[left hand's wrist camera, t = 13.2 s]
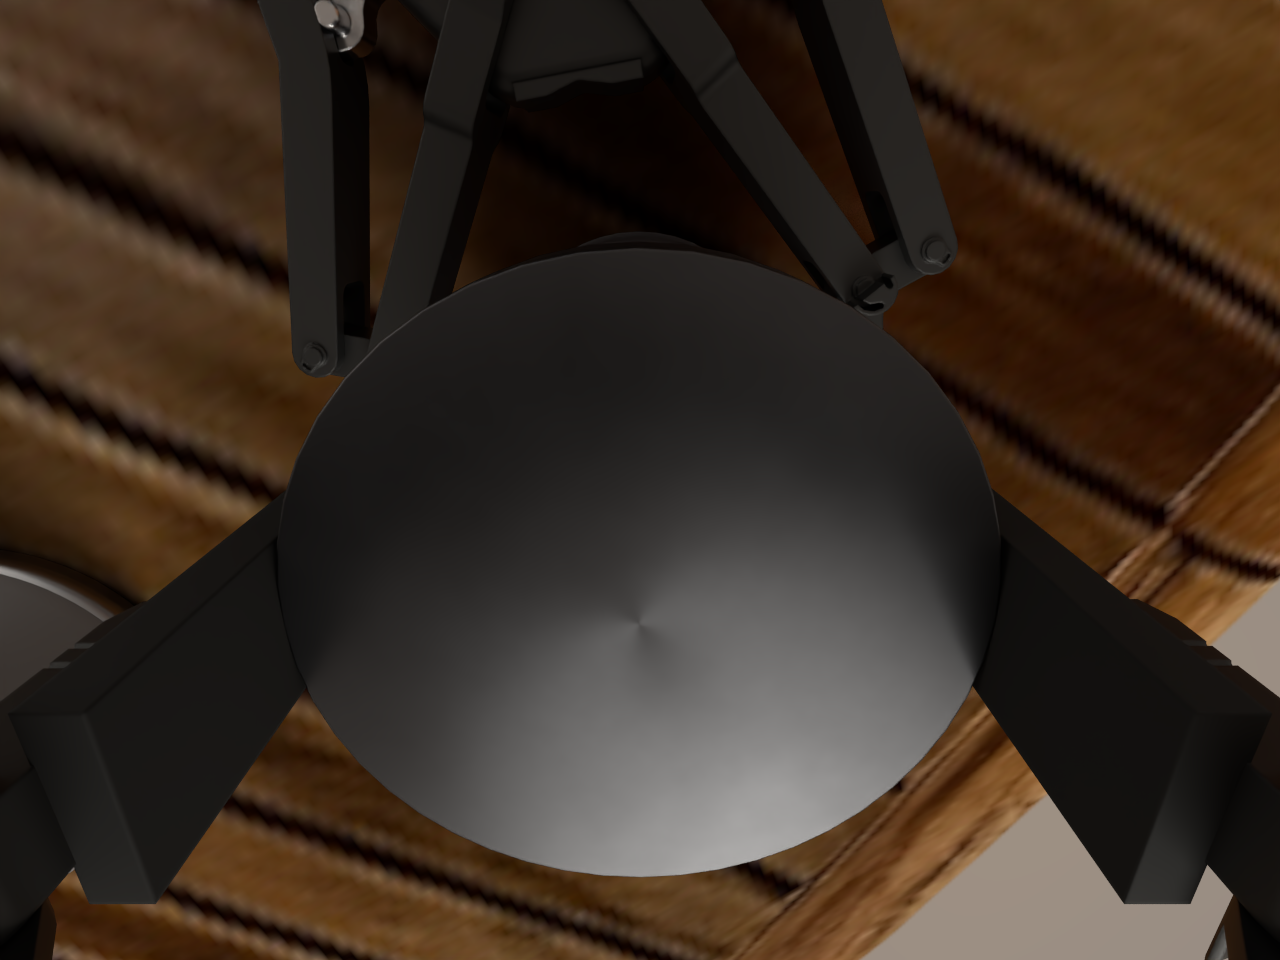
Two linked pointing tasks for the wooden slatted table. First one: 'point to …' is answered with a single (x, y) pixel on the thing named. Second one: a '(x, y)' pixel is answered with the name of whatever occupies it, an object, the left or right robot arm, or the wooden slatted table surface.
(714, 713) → the lid
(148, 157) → the wooden slatted table surface
